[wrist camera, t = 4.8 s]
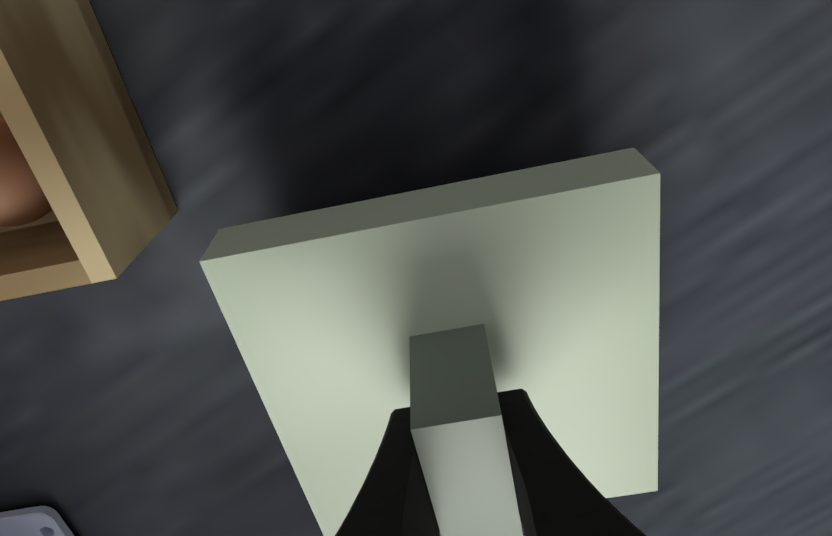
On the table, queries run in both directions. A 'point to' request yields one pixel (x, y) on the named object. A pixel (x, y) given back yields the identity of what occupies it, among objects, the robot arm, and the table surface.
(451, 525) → the lid
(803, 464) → the table surface
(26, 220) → the box
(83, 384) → the table surface
